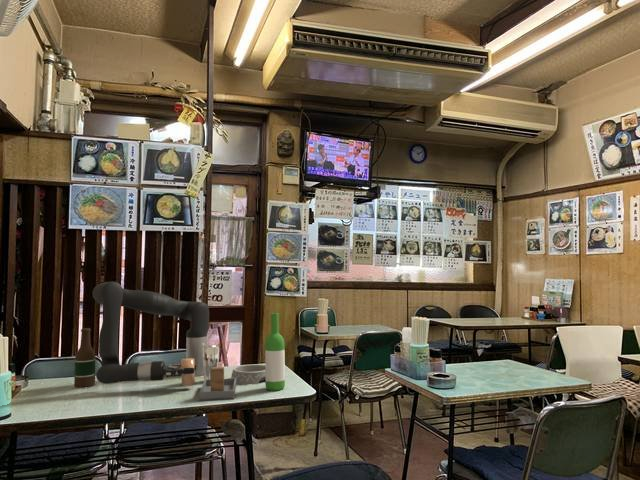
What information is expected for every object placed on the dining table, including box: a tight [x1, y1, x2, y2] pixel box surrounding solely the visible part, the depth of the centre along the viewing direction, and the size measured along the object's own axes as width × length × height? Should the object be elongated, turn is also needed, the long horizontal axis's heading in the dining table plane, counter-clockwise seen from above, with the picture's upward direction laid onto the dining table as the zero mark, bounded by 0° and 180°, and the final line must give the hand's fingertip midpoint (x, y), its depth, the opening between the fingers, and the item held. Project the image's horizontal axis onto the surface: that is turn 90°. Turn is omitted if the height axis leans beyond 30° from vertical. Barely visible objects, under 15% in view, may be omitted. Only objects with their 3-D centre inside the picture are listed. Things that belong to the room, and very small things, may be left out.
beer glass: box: [203, 344, 220, 383], centre depth 200 cm, size 7×7×15 cm
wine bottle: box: [264, 312, 286, 392], centre depth 186 cm, size 8×8×30 cm
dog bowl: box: [230, 363, 266, 385], centre depth 202 cm, size 17×18×5 cm
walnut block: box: [211, 366, 225, 391], centre depth 175 cm, size 4×4×10 cm
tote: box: [198, 377, 237, 401], centre depth 180 cm, size 21×13×3 cm, turn 8°
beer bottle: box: [73, 327, 96, 389], centre depth 195 cm, size 8×8×24 cm
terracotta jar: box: [180, 358, 196, 387], centre depth 187 cm, size 5×5×10 cm
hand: (194, 369), depth 188 cm, fingers closed on terracotta jar, 5 cm apart
